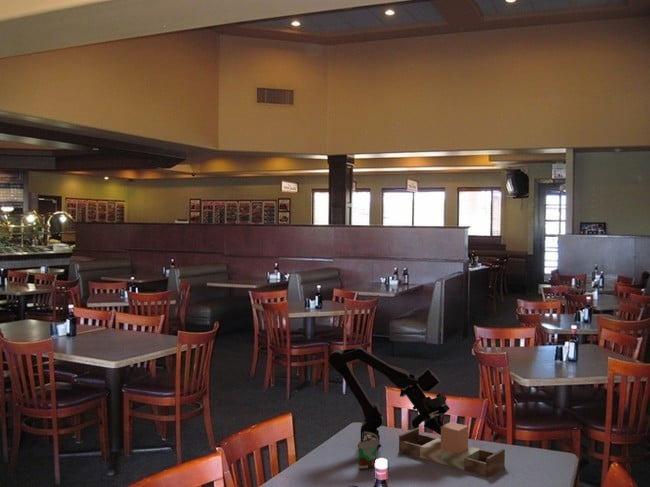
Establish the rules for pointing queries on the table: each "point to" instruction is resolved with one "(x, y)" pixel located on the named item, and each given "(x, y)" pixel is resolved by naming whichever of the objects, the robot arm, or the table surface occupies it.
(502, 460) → the track
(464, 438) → the terracotta block
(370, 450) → the food container
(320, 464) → the table surface
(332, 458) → the table surface
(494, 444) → the table surface
